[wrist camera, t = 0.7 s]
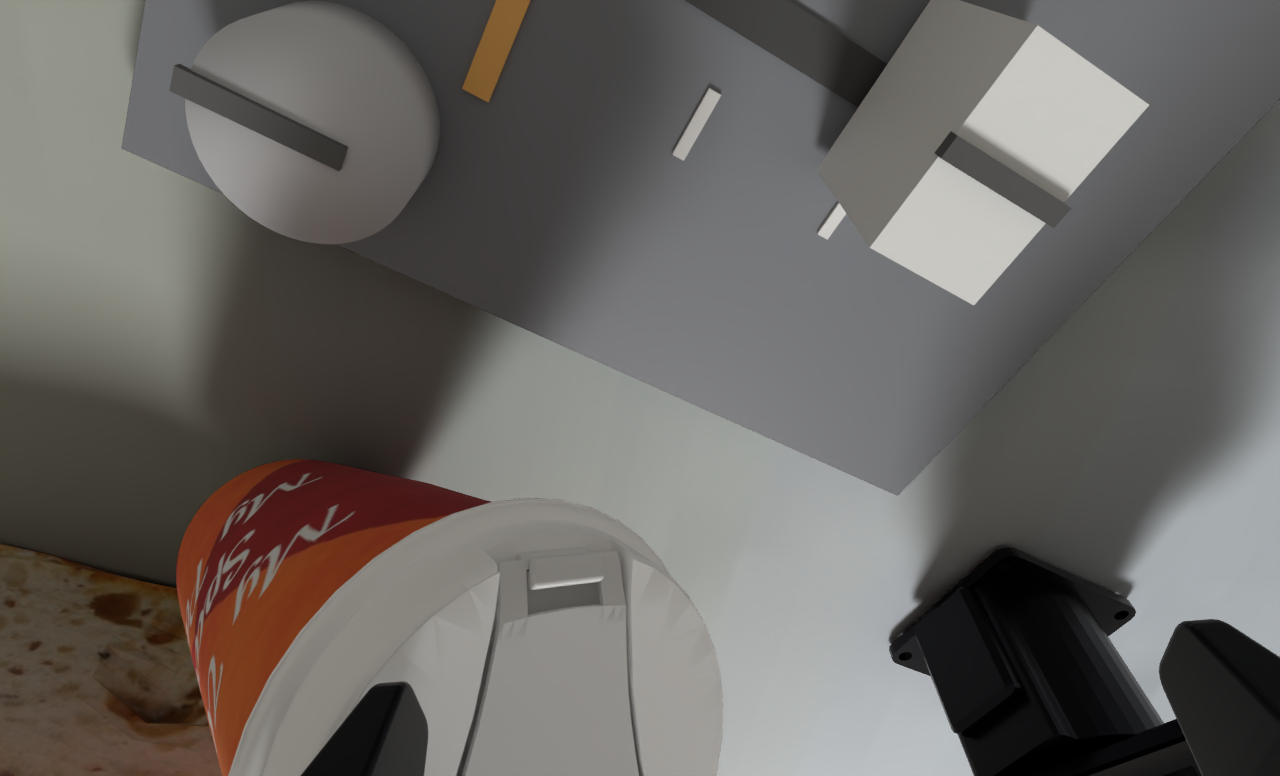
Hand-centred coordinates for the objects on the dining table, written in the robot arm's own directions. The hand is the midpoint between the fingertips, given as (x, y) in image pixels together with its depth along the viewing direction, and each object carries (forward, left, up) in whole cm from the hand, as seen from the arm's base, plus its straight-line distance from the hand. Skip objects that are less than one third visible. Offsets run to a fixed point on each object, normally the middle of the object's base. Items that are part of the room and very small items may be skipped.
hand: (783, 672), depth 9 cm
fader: (-2, -5, -11) cm, 12 cm away
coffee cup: (+7, +14, -11) cm, 19 cm away
